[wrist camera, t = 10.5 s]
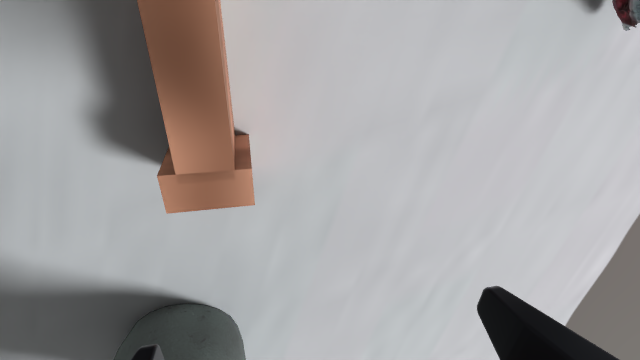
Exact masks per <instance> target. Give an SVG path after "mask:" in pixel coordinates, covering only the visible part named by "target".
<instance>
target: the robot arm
mask: <svg viewBox="0 0 640 360" xmlns="http://www.w3.org/2000/svg"><path fill="white" fill-rule="evenodd" d="M477 311H478V314H479V316H480V319H481V321H482V323H483V325H484V327H485V329H486V331H487V333H488V335H489V338H490V340H491V342H492V344H493V346H494V348H495V350H496V352H497V354H498V356H499V358H500V360H619V359H618V358H616V357H614V356H613V355H611V354H609V353H608V352H606V351H604V350H603V349H601V348H599V347H598V346H596V345H595V344H593V343H591V342H589V341H588V340H587V339H585V338H583V337H582V336H580V335H578V334H577V333H575V332H573V331H572V330H570V329H568V328H567V327H565V326H564V325H562V324H560V323H559V322H557V321H555V320H554V319H552V318H551V317H549V316H547V315H546V314H544V313H542V312H541V311H539V310H538V309H536V308H534V307H533V306H531V305H529V304H528V303H526V302H524V301H523V300H521V299H520V298H518V297H516V296H515V295H513V294H511V293H510V292H508V291H506V290H505V289H503V288H501V287H499V286H493V287H487V288H485V289H484V290H483V292H482V295H481V297H480V300H479V302H478V305H477ZM131 360H164V357H163V354H162V352H161V349H160V346H159V345H158V344H152V345H146V346H142V347H140V348H139V349H138V350H137V351H136V353H135V354H134V355H133V357H132V358H131Z"/></svg>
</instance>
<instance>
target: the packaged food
mask: <svg viewBox="0 0 640 360" xmlns="http://www.w3.org/2000/svg"><path fill="white" fill-rule="evenodd" d="M612 2H613V6H614V9H615V10H616V13H617V16H618V17H619V18H620V20H621V22H622V26H623V29H624V30H626V31H627V30H630V29H629V27H631V26H633V27H636V26H635V25H637V24H638V23H640V0H613V1H612ZM636 28H637V27H636Z"/></svg>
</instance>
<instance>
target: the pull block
mask: <svg viewBox="0 0 640 360" xmlns="http://www.w3.org/2000/svg"><path fill="white" fill-rule="evenodd" d="M137 3H138V7H139V12H140V16H141V21H142V25H143V30H144V34H145V39H146V43H147V48H148V52H149V57H150V61H151V66H152V70H153V75H154V79H155V84H156V88H157V93H158V97H159V102H160V106H161V111H162V115H163V120H164V124H165V129H166V134H167V138H168V143H169V148H168V150H167V153H166V155H165V157H164V160H163V162H162V165H161V167H160V170H159V172H158V175H157V178H158V182H159V185H160V189H161V193H162V197H163V201H164V205H165V209H166V213H177V212H187V211H198V210H208V209H218V208H229V207H239V206H249V205H255V202H254V190H253V178H252V166H251V155H250V143H249V135H235V132H234V123H233V114H232V104H231V95H230V86H229V77H228V68H227V59H226V50H225V40H224V31H223V22H222V13H221V4H220V0H137Z"/></svg>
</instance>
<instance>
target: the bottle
mask: <svg viewBox="0 0 640 360" xmlns="http://www.w3.org/2000/svg"><path fill="white" fill-rule="evenodd" d="M152 344H158V345H159V346H160V349H161V352H162V354H163V357H164V360H246V358H245V351H244V345H243V340H242V337H241V334H240V331H239V328H238V326H237V324H236V323H235V322H234V320H233V319H232V318H231V316H229V315H227V314H226V313H224V312H223V311H221V310H219V309H216V308H213V307H209V306H206V305H197V304H181V305H174V306H167V307H164V308H161V309H159V310H156V311H153V312H150V313H149V314H148V315H146V316H145V317H143V318H142V319H140V320H139V321H138V322H137V323H136V324H135V326H134V327H133V329H132V330H131V332H130V333H129V335H128V336H127V337H126V339H125V340H124V342H123V343H122V345H121V346H120V348H119V349H118V351H117V354H116V356H115V358H114V360H131V358H132V357H133V355H134V354H135V353H136V351H137V350H138V349H139V348H140V347H142V346H146V345H152Z"/></svg>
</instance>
